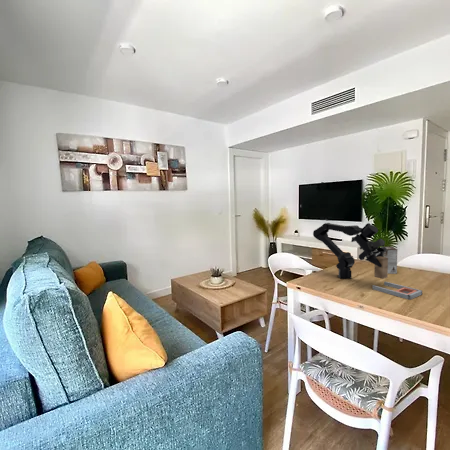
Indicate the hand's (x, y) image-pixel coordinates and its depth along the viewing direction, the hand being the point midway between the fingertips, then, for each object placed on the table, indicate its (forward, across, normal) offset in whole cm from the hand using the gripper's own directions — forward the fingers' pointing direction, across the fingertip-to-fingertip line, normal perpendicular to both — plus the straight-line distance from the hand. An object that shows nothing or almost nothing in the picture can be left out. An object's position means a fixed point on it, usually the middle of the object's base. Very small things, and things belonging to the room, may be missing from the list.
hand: (383, 265), depth 135 cm
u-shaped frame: (+14, 0, +4) cm, 14 cm away
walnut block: (+4, 0, +6) cm, 7 cm away
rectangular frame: (+17, 0, +1) cm, 17 cm away
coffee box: (-1, +33, +19) cm, 38 cm away
